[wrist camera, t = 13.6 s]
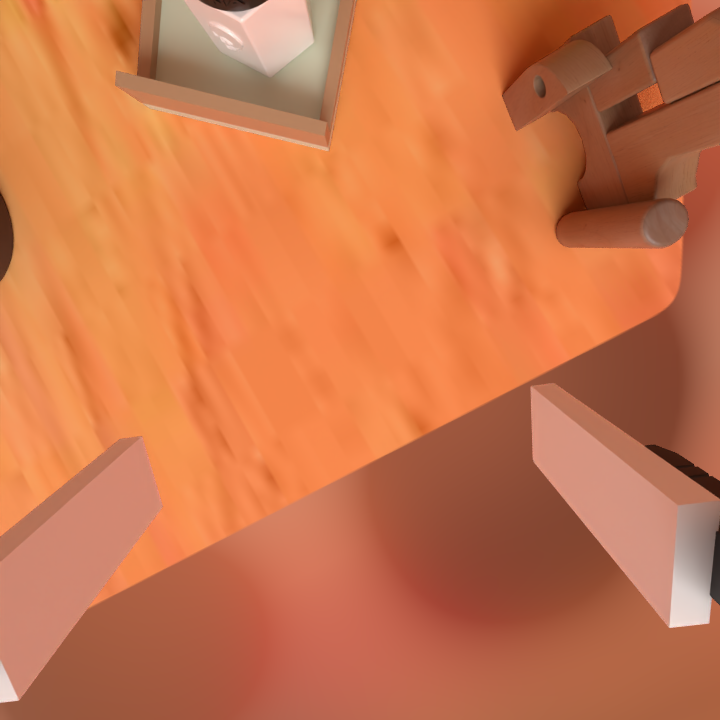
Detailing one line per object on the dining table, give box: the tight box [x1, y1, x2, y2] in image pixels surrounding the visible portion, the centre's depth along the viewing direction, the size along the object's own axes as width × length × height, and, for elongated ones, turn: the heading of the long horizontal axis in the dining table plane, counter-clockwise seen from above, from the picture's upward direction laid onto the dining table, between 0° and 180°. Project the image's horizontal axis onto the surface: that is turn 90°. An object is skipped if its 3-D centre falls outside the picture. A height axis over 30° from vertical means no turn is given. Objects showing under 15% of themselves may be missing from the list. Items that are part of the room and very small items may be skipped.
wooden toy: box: [502, 4, 720, 248], centre depth 26 cm, size 16×7×25 cm, turn 29°
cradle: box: [115, 0, 357, 151], centre depth 33 cm, size 16×14×6 cm
